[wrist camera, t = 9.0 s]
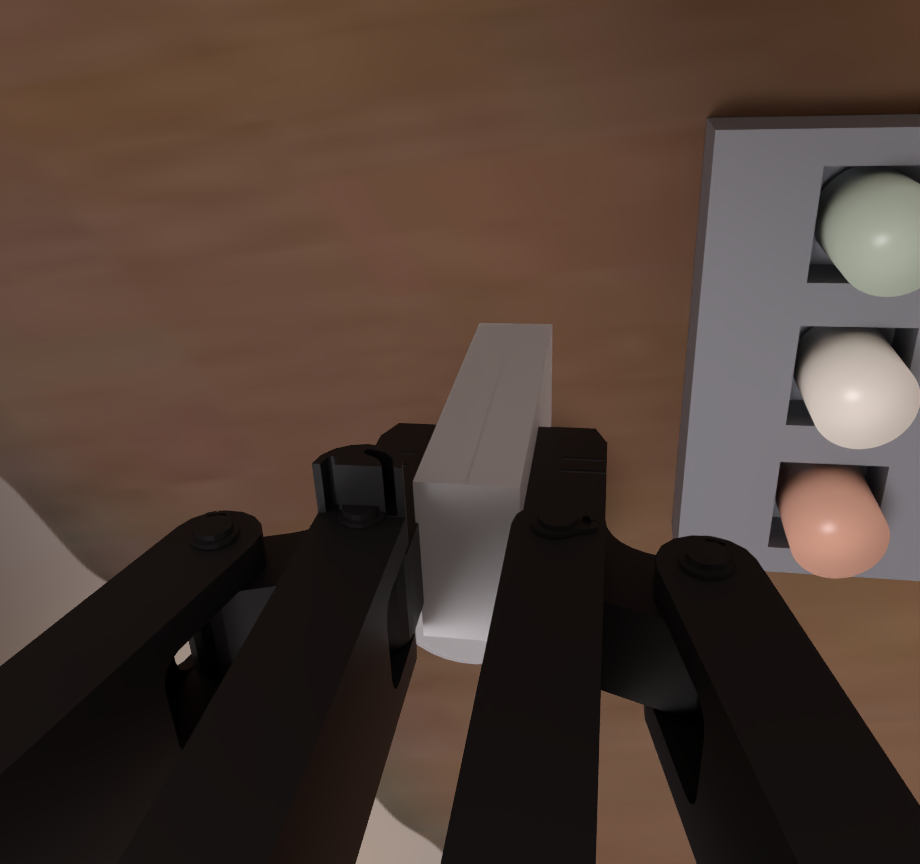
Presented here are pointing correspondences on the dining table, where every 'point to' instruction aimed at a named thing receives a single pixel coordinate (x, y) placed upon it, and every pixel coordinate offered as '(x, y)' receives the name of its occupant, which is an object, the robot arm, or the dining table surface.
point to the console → (783, 333)
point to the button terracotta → (830, 518)
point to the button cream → (855, 386)
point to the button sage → (872, 229)
